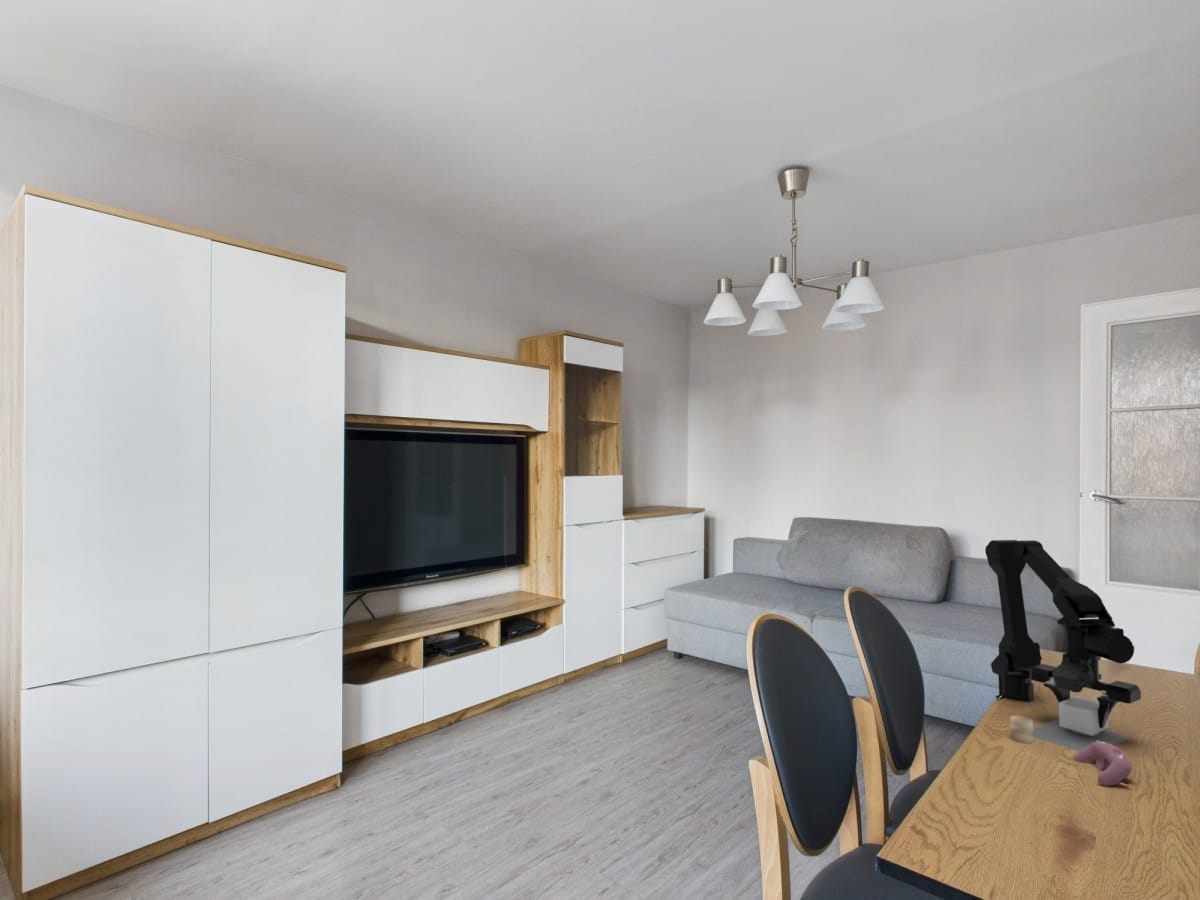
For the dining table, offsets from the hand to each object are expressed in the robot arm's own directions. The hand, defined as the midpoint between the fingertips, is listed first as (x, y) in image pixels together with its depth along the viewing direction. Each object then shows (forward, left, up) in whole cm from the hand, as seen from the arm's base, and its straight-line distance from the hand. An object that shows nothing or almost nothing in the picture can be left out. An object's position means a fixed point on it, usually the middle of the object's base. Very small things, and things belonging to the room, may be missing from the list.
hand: (1084, 722), depth 139 cm
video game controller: (+10, -18, -3) cm, 21 cm away
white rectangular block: (0, 0, -1) cm, 1 cm away
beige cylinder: (-5, -16, -3) cm, 17 cm away
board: (0, -4, -3) cm, 4 cm away
